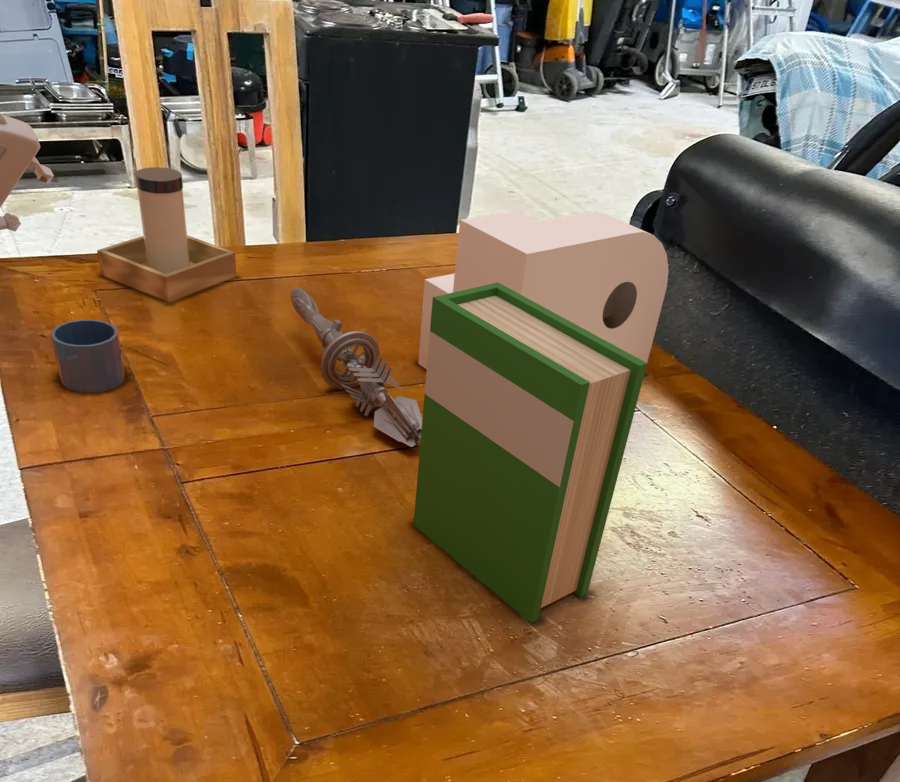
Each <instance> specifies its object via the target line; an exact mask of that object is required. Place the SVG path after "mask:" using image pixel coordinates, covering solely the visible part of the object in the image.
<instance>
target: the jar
mask: <svg viewBox="0 0 900 782" xmlns="http://www.w3.org/2000/svg"><path fill="white" fill-rule="evenodd" d="M134 179H135V187H136V189H137V196H138V204H139V211H140V212H139V213H140V221H141V227H142V228H141V229H142V236H144V244H145V252H146V260H147V267H149V268H152V269H154V270H157V271H159V272H162V273H164V274H168V273H171V272H174V271H176V270H179V269H182V268H185V267H188V266H190V261H189V251H188V241H187V235H188V232H187V219H186V210H185V199H184V189H183V188H184V182H183V174H182V173H181V172H180V171H178V170H177V169H173V168H169V167H162V166H161V167H159V166H158V167H157V166H156V167H144V168H140V169H137V170H136V171H135V172H134Z"/></svg>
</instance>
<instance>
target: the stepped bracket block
mask: <svg viewBox="0 0 900 782" xmlns="http://www.w3.org/2000/svg"><path fill="white" fill-rule="evenodd" d="M457 236H458V237H457V246H456V247H457V248H456V257H455V266H454V272H453V273H450V274H445V275H440V276H435V277H431V278H430V277H429V278H424V285H423V298H422V299H423V300H422V312H421V323H420V325H421V326H420V338H419V350H418V363H417V364H418V365H419V366H421V367H422V368H424V369H425V370H427V359H428V348H429V336H430V324H431V312H432V301H433V297H436V296H440V295H444V294H449V293H453V292H458V291H462V290H467V289H471V288H475V287H480V286H484V285H489V284H493V283H497V282H498V283H500V284H502V285H504V286H506V287H507V288H509V289H511V290H513V291H515V292H517V293H519V294H520V295H522V296H524V297H526V298H528V299H530V300H531V301H533V302H535V303H537V304H539V305H541V306H543V307H544V308H546V309H548V310H550V311H552V312H554V313H555V314H557V315H559V316H561V317H563V318H565V319H567V320H568V321H570V322H572V323H574V324H576V325H578V326H579V327H581V328H583V329H585V330H587V331H589V332H591V333H592V334H594V335H596V336H598V337H600V338H602V339H603V340H605V341H607V342H609V343H611V344H613V345H615V346H616V347H618V348H620V349H622V350H624V351H626V352H627V353H629V354H631V355H633V356H635V357H637V358H639V359H640V360H642V361H644V362H646V363H647V364H648V362H649V357H650V354H651V349H652V347H653V342H654V339H655V336H656V335H655V334H656V331H657V327H658V323H659V319H660V315H661V312H662V308H663V303H664V300H665V297H666V292H667V288H668V280H669V279H668V278H669V271H670V270H669V261H668V255H667V252H666V250H665V246H664V245H663V243H662V242H661V240H659V238H657V237H656V236H655V235H654V234H652V233H650V232H648V231H645V230H644V229H640V228H639V227H636V226H634V225H632V224H629V223H628V222H625V221H623V220H621V219H618V218H616V217H613V216H611V215H609V214H606V213H603V212H600V211H597V210H593V211H586V212H579V213H573V214H567V215H562V216H556V217H550V218H544V219H538V218H535V217H533V216H531V215H529V214H527V213H524V212H523V211H520V210H511V211H505V212H499V213H493V214H487V215H480V216H474V217H467V218H463V219H459V228H458V235H457Z"/></svg>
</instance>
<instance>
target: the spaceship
mask: <svg viewBox="0 0 900 782" xmlns="http://www.w3.org/2000/svg"><path fill="white" fill-rule="evenodd" d="M290 300H291V304H292V306H293V309H294V310H295V312H296V313H297V314H298V315H299V317H300V318H301V319H302V320H303V321H304V323H306V324H310V325H311V326H312V328H313V330H314V332H315V334H316V337H317V340H318V341H319V342H320V343H321V349H320V350H321V354H322V357H321V362H320V373H321V376H322V378H323V380H324V382H325V383H326V384H327V385H328V386H330V387H332V388H333V389H337V390H345V391H346V392H347V393H349V396H350V397H351V398H353V399H355V400H356V403H355V407H356V408H359V411H360V413H363V415H364V417H366V418H367V417H369V415H370V414H371V412H372V410H373V409H374V408H375V407H380V408H378V409H377V410H375V411H374V414H373V415H374V417H373V428H375V429H377V430H378V431H380V432H382V433H383V434H386V436H388V437H390V438H392V439H394V440H395V441H397V442H399V443H403V444H405V445H406V446H408V447H410V448H413V447H415V446H416V447H417V448H418V449H420V443H419V440H420V439H421V430H422V418H423V415H422V413H421V410H420V408H419V404H418V401H417V399H414V398H409V397H404V396H401V395H399V396H397V397H395V398H393V397H392V396H391V395H390V394H389V393H388V390H387V387H386V385H387V384H388V385H390V386H393V387H394V388H397V389H399V390H401V391H404V389H403V387H401V386H400V383H398V382H396V379H395V378H394V377H392V376H390V373H391V371H392V368H391V366H387V364H388V363H387V362H386V361H382V360H383V357H382V356H381V355H380V354H381V353H380V346H379V344H378V341H377V340H376V338H375V337H374V336H373V335H371V334H370V333H368V332H366V331H361V330H352V331H347V332H345V333H343V332H342V331H341V329H342V327H343V323H342V322H341V320H339V319H333V321H331V320H329V319H327V318H325V317H324V316H323V315H322V314H321V313H320V311H319V308H318V306H317V303H316V301H315V300H314V298H312V297H311V295H310V294H309V292H307V291H306V290H305V289H304V288H301V287H300V286H299V287H298V286H295V287H293V288H292V289H291V291H290ZM352 347H354V348H353V349H352V350H353V351H352V350H351V348H352ZM359 347H360V348H362V349H363V351H362V352H361V353H359V354H357V353H358V350H359ZM337 361H338V362H342V364H340V365H339V366H337V367H336V365H337ZM385 368H386V369H385ZM342 370H344V371H343V372H342V373H340V371H342ZM357 387H360V389H361V390H360V391H359V390H357V389H356V388H357ZM354 388H355V389H354Z"/></svg>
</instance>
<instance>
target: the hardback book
mask: <svg viewBox="0 0 900 782" xmlns="http://www.w3.org/2000/svg"><path fill="white" fill-rule="evenodd" d="M647 366H648V362H647V363H646V362H644V361H642V360H640V359H639V358H637V357H635V356H633V355H631V354H629V353H627V352H626V351H624V350H622V349H620V348H618V347H616V346H615V345H613V344H611V343H609V342H607V341H605V340H603V339H602V338H600V337H598V336H596V335H594V334H592V333H591V332H589V331H587V330H585V329H583V328H581V327H579V326H578V325H576V324H574V323H572V322H570V321H568V320H567V319H565V318H563V317H561V316H559V315H557V314H555V313H554V312H552V311H550V310H548V309H546V308H544V307H543V306H541V305H539V304H537V303H535V302H533V301H531V300H530V299H528V298H526V297H524V296H522V295H520V294H519V293H517V292H515V291H513V290H511V289H509V288H507V287H506V286H504V285H502V284H500V283H498V282H497V283H493V284H489V285H484V286H480V287H475V288H471V289H467V290H462V291H458V292H453V293H449V294H444V295H440V296H436V297H433V301H432V312H431V324H430V336H429V348H428V359H427V369H426V373H425V385H424V396H423V408H422V430H421V438H420V443H419V446H420V448H419V455H418V467H417V478H416V488H415V489H416V490H415V500H414V502H415V503H414V511H413V512H414V514H413V524H412V525H413V526H414V527H415V528H417V529H418V530H419V531H420V532H421V533H422V534H424V535H425V536H426V537H427V538H428V539H430V540H431V541H432V542H433V543H434V544H435V545H436V546H438V547H439V548H440V549H441V550H443V551H444V552H445V553H446V554H448V555H449V556H450V557H451V558H452V559H453V560H455V561H456V562H457V563H458V564H459V565H461V566H462V567H463V568H464V569H466V570H467V572H469V573H470V574H471V575H472V576H474V577H475V578H476V579H477V580H479V581H480V582H481V583H482V584H483V585H485V586H486V587H487V588H488V589H489V590H491V591H492V592H493V593H494V594H495V595H497V596H498V597H499V598H500V599H501V600H503V601H504V602H505V603H506V604H507V605H508V606H510V607H511V608H512V609H513V610H515V611H516V612H517V613H518V614H519V615H520V616H521V617H522V618H524V619H525V620H526V621H527V622H529V623H530V624H533V623H534V622H536V621H538V620H539V618H540V613H541V609H542V608H544V607H546V606H548V605H551V604H552V603H554V602H556V601H559V600H560V599H563V598H564V597H567V596H568V595H570V594H572V593H573V594H575V595H576V596H577V597H578V598H583V597H585V596H587V595H588V592H589V589H590V585H591V581H592V578H593V574H594V570H595V565H596V562H597V558H598V555H599V550H600V548H601V547H600V546H601V543H602V538H603V535H604V530H605V528H606V524H607V520H608V517H609V516H608V515H609V511H610V509H611V505H612V500H613V497H614V493H615V490H616V489H615V488H616V484H617V482H618V477H619V473H620V470H621V466H622V461H623V459H624V454H625V451H626V447H627V443H628V438H629V435H630V431H631V427H632V423H633V420H634V416H635V412H636V408H637V404H638V400H639V396H640V392H641V389H642V385H643V381H644V377H645V374H646V371H647V370H646V369H647Z"/></svg>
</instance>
